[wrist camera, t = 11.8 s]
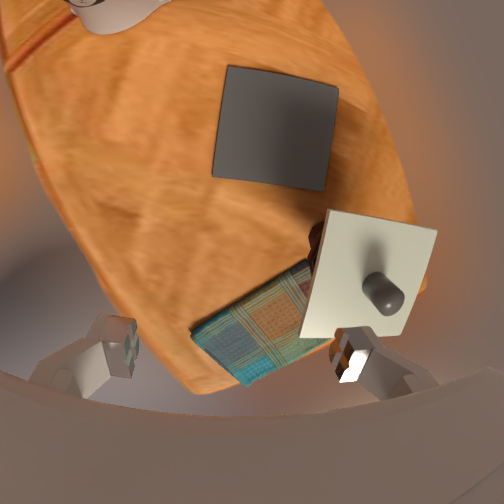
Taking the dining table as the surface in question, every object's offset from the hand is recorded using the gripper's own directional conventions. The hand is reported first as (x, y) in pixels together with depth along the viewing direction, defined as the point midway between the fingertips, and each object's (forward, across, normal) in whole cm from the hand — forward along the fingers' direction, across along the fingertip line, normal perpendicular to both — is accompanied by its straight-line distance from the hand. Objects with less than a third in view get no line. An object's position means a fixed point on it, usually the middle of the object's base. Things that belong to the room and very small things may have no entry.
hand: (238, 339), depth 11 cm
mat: (+30, -6, -10) cm, 33 cm away
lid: (+15, -16, +5) cm, 22 cm away
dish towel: (+30, -10, +23) cm, 39 cm away
